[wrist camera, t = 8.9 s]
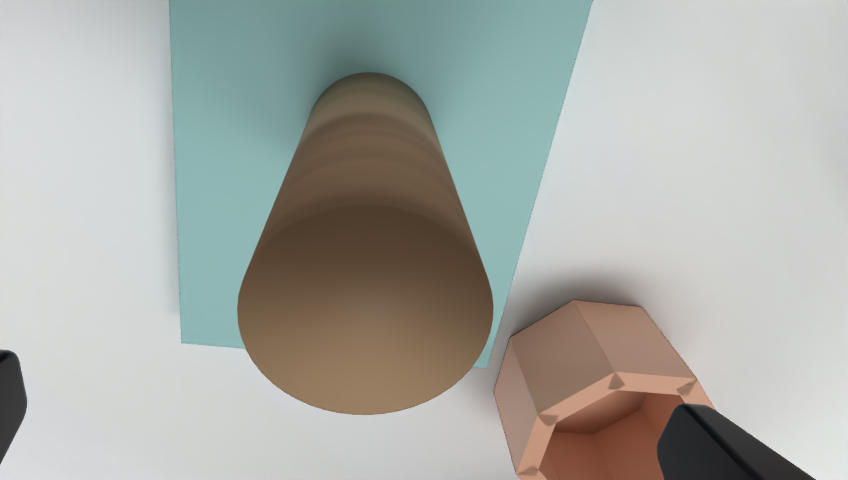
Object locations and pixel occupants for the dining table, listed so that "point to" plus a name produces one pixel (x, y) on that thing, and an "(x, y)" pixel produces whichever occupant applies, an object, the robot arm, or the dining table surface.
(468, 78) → the board
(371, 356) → the dowel
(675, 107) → the dining table surface
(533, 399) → the pink octagonal bowl
